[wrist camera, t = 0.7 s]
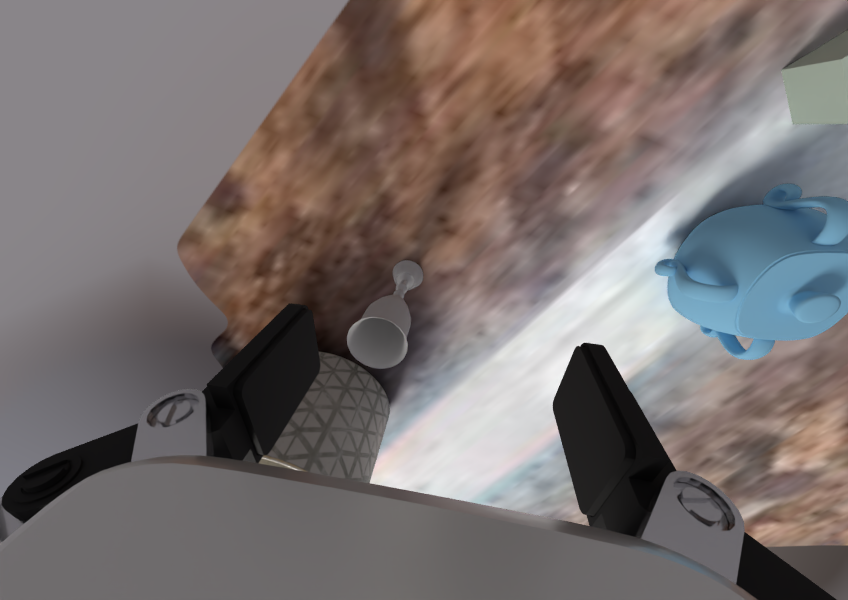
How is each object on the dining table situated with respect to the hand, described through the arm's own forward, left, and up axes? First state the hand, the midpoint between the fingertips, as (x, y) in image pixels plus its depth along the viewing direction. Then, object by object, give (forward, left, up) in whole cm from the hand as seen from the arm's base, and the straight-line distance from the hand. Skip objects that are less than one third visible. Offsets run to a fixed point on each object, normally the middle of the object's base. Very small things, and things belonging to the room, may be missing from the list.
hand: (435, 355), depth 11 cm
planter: (+29, -38, -35) cm, 59 cm away
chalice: (+10, -13, -35) cm, 39 cm away
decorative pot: (+21, +29, -35) cm, 50 cm away
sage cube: (+3, +37, -35) cm, 51 cm away
